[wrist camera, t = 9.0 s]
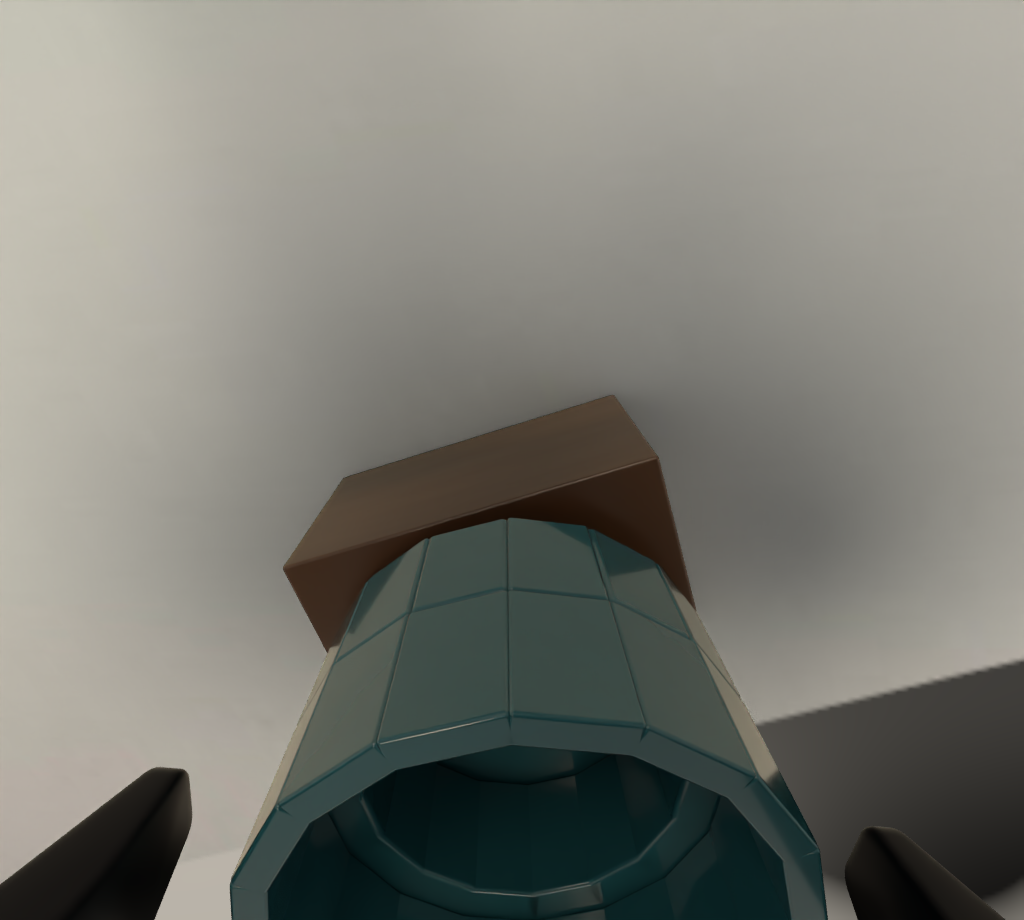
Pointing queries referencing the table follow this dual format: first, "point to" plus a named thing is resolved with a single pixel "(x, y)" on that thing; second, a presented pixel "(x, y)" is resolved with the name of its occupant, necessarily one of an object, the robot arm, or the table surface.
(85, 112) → the table surface
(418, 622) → the bowl
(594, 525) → the stand
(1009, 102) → the table surface
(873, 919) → the robot arm
